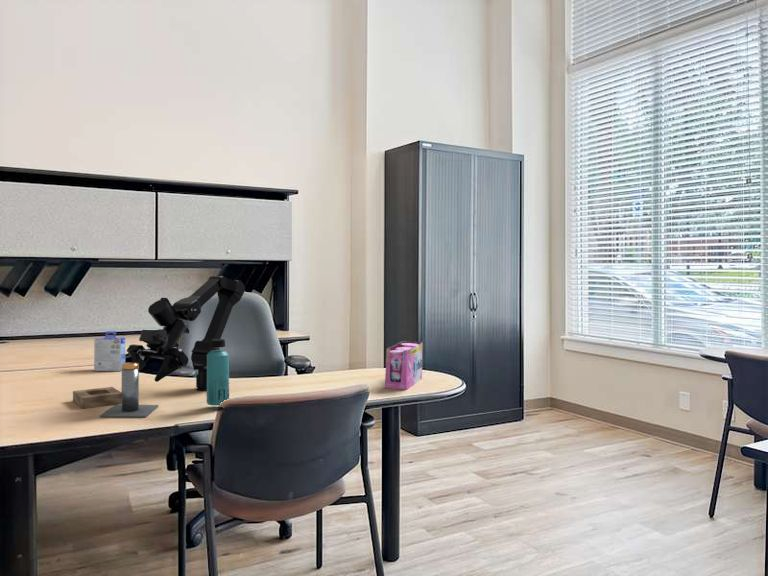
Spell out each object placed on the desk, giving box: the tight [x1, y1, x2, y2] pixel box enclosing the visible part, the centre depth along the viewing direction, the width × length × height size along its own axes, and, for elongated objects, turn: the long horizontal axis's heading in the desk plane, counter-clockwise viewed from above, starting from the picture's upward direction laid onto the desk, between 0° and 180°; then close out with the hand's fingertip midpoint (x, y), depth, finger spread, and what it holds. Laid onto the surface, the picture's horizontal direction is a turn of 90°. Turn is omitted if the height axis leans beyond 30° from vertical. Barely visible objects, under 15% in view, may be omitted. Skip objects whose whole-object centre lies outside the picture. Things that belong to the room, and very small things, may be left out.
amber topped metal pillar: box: [121, 361, 140, 412], centre depth 172 cm, size 4×4×13 cm
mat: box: [99, 404, 159, 419], centre depth 172 cm, size 12×12×1 cm
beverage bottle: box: [205, 338, 231, 406], centre depth 178 cm, size 6×7×20 cm
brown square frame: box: [72, 386, 122, 409], centre depth 183 cm, size 11×11×3 cm
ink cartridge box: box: [93, 330, 126, 372], centre depth 233 cm, size 10×6×14 cm, turn 96°
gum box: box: [384, 340, 424, 391], centre depth 219 cm, size 24×8×14 cm, turn 163°
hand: (142, 379), depth 176 cm, fingers open, 9 cm apart
